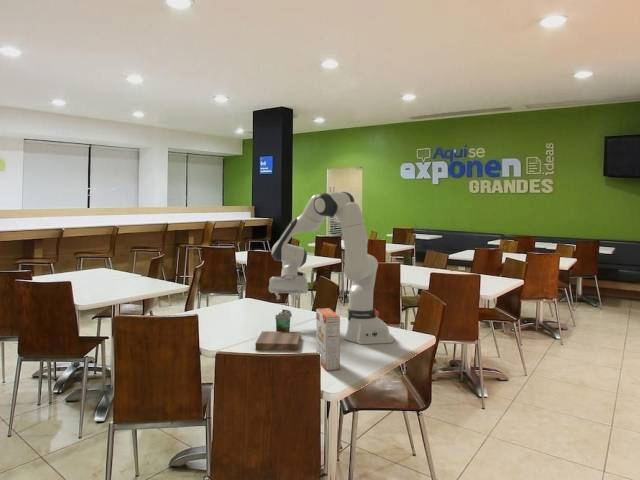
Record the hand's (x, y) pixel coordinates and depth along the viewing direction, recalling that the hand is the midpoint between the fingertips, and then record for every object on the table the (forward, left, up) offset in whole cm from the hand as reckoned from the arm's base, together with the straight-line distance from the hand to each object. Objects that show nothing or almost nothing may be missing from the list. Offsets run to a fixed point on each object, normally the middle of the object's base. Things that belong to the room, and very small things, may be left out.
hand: (287, 299), depth 235 cm
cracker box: (-21, +54, -14) cm, 60 cm away
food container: (0, +11, -14) cm, 18 cm away
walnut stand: (+1, +29, -14) cm, 32 cm away
